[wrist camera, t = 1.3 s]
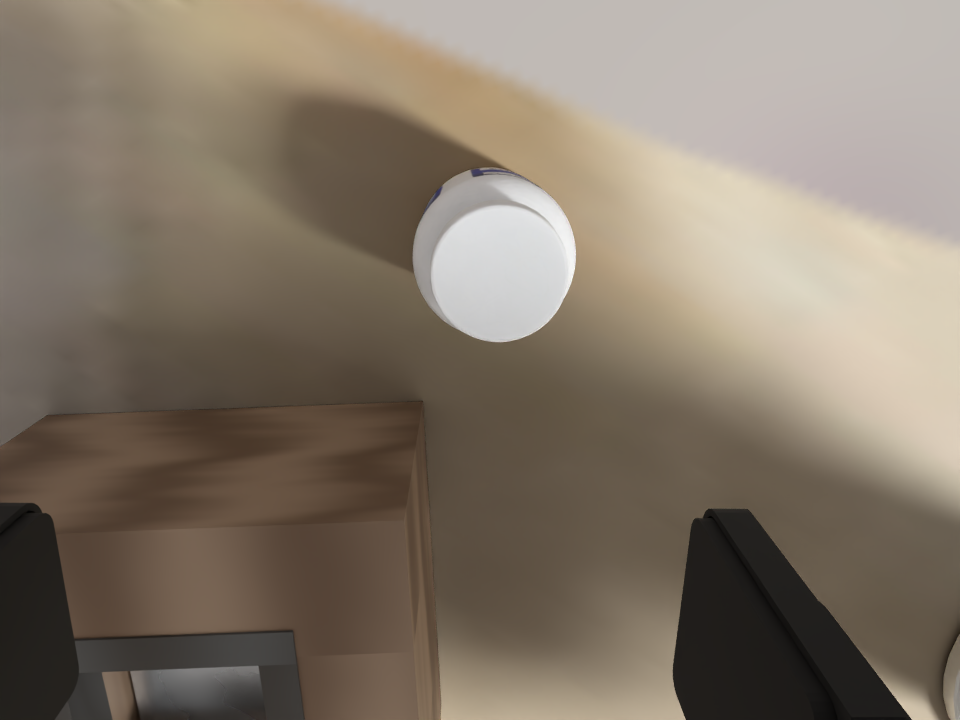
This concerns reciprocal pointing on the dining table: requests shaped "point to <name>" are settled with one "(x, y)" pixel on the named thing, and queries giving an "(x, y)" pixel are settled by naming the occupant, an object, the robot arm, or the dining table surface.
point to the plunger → (200, 694)
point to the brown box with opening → (243, 552)
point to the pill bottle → (493, 254)
